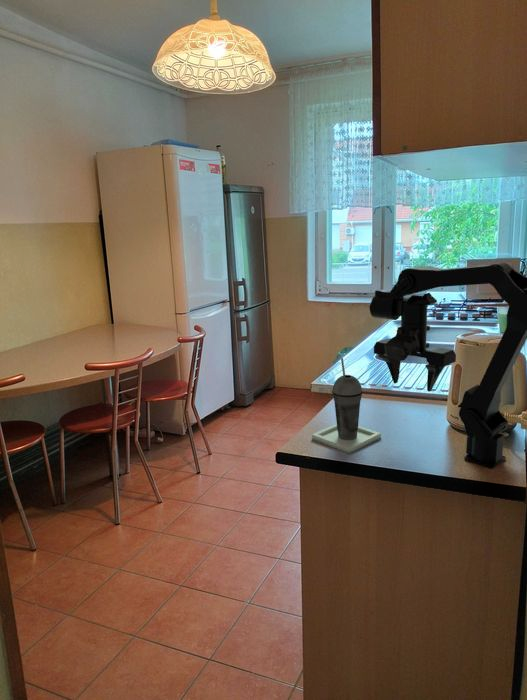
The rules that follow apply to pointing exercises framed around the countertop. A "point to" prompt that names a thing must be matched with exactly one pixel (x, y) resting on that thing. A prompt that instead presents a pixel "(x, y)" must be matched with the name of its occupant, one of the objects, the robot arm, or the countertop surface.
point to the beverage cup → (347, 405)
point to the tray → (348, 446)
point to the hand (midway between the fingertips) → (412, 386)
